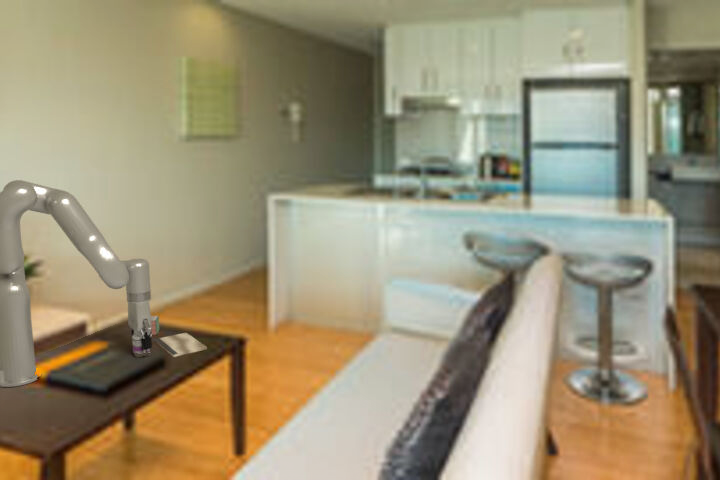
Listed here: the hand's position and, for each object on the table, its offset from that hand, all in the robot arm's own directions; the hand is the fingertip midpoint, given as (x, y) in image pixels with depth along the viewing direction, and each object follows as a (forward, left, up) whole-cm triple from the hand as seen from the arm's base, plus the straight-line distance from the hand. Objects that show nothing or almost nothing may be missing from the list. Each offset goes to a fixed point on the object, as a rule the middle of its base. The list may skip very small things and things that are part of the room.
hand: (141, 344), depth 192 cm
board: (+14, +1, -4) cm, 14 cm away
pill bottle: (0, 0, -4) cm, 4 cm away
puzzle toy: (+10, +20, -4) cm, 23 cm away
